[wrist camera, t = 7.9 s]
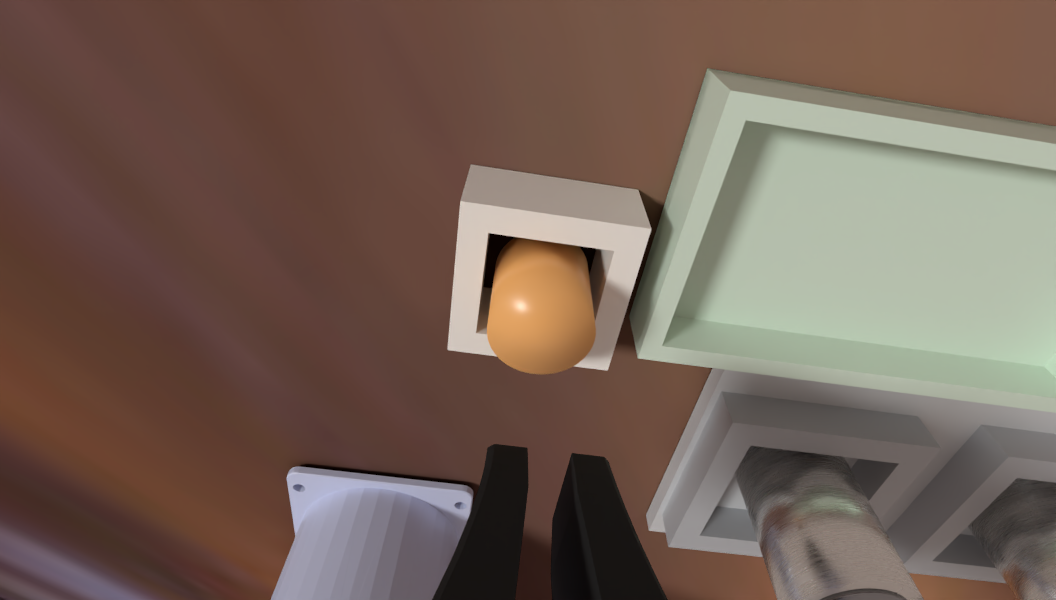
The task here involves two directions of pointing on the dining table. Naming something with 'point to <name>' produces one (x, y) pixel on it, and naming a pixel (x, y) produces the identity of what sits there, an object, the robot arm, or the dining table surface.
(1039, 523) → the cylinder
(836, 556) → the cylinder
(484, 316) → the button housing
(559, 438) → the dining table surface
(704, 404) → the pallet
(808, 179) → the tray
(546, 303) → the button cap
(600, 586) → the robot arm
